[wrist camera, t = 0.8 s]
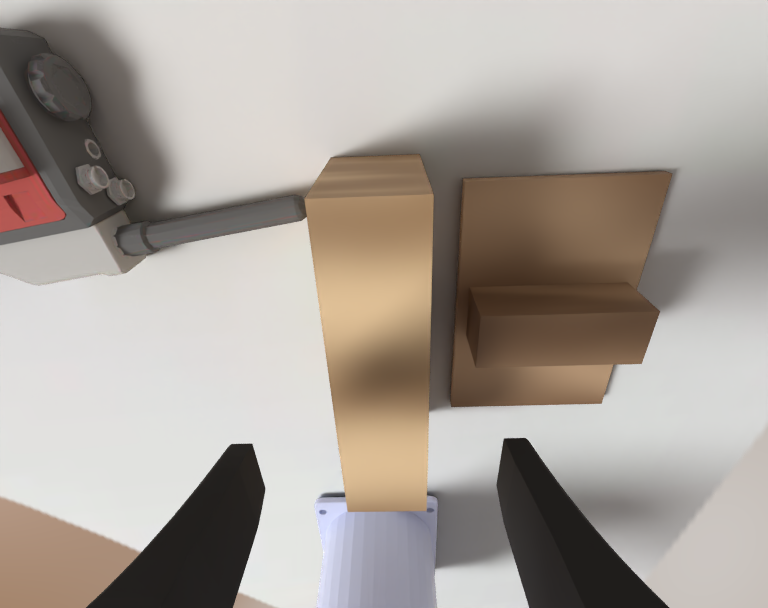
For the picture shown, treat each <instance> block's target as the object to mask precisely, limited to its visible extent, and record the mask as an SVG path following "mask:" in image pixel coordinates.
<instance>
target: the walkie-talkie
mask: <svg viewBox="0 0 768 608" xmlns="http://www.w3.org/2000/svg"><path fill="white" fill-rule="evenodd" d="M90 112H91V97H90V94H89V91H88V88H87V86H86V85H85V83H84V81H83V79H82V78H81V77H80V75H79V74H78V73H77V72H76V71H75V69H74V68H73V67H72V66H71V65H70V64H69V63H68V62H66V61H65V60H64V59H63V58H61V57H59V56H57V55H55V54H52V52H51V50H50V48H49V46H48V44H47V42H46V40H45V39H44V38H42V37H40V36H38V35H36V34H34V33H32V32H29V31H24V30H14V29H5V28H0V273H1V274H4V275H7V276H10V277H13V278H15V279H18V280H21V281H24V282H26V283H29V284H32V285H45V284H50V283H56V282H61V281H67V280H72V279H78V278H83V277H89V276H94V275H100V274H104V275H107V276H113V275H119V274H124V273H127V272H128V271H130V270H131V269H132V268H133V267H135V266H136V265H137V264H139V263H140V262H141V261H142V260H144V259H145V258H146V254H149V253H154V252H157V251H159V250H160V248H162V247H167V246H172V245H178V244H183V243H188V242H193V241H198V240H204V239H209V238H214V237H219V236H225V235H230V234H235V233H240V232H245V231H251V230H256V229H261V228H266V227H271V226H277V225H282V224H287V223H292V222H297V221H302V220H303V219H304V218H306V217H307V214H306V207H305V199H304V198H303V197H301V196H298V195H292V196H287V197H282V198H276V199H271V200H266V201H261V202H256V203H251V204H246V205H241V206H236V207H231V208H225V209H220V210H215V211H210V212H205V213H200V214H195V215H190V216H185V217H180V218H174V219H169V220H164V221H159V222H154V223H151V222H150V221H142V222H137V223H132V224H131V223H130V221H129V219H128V217H127V215H126V213H125V212H124V210H123V208H124V207H125V205H126V203H127V202H128V200H131V199H133V198H134V197H135V191H134V187H133V185H132V184H131V183H130V182H129V181H128V180H127V179H121V180H118V178H117V177H116V176H115V174H114V173H113V171H112V169H111V167H110V165H109V163H108V161H107V159H106V157H105V155H104V153H103V151H102V149H101V147H100V145H99V143H98V141H97V139H96V138H95V136H94V134H93V132H92V130H91V128H90V126H89V124H88V122H87V120H86V118H88V117H89V113H90Z"/></svg>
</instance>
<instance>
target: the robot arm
mask: <svg viewBox="0 0 768 608" xmlns="http://www.w3.org/2000/svg"><path fill="white" fill-rule="evenodd" d="M497 490H498V495H499V501H500V506H501V511H502V516H503V521H504V525H505V528H506V532H507V535H508V539H509V542H510V545H511V549H512V552H513V555H514V559H515V562H516V565H517V568H518V572H519V575H520V578H521V582H522V585H523V588H524V591H525V595H526V598H527V601H528V605H529V608H669V607H668V606H667V605H666V604H665V603H664V602H663V601H662V600H661V599H660V598H659V597H658V596H657V595H656V594H655V593H654V592H653V591H652V590H651V589H650V588H649V587H648V586H647V585H646V584H645V583H644V582H643V581H642V580H641V579H640V578H639V577H638V576H637V575H636V574H635V573H634V572H633V571H632V570H631V568H630V567H629V566H628V565H627V564H626V563H625V562H624V561H623V560H622V559H621V558H620V557H619V556H618V554H617V553H616V552H615V551H614V550H613V549H612V548H611V547H610V546H609V544H608V543H607V542H606V541H605V540H604V539H603V537H602V536H601V535H600V534H599V533H598V532H597V531H596V529H595V528H594V527H593V526H592V525H591V523H590V522H589V521H588V520H587V519H586V517H585V516H584V515H583V514H582V512H581V511H580V510H579V509H578V507H577V506H576V505H575V504H574V502H573V501H572V500H571V499H570V497H569V496H568V495H567V494H566V492H565V491H564V490H563V488H562V487H561V486H560V484H559V483H558V482H557V480H556V479H555V478H554V476H553V475H552V473H551V472H550V471H549V469H548V468H547V467H546V465H545V464H544V462H543V461H542V459H541V458H540V457H539V455H538V454H537V452H536V451H535V449H534V448H533V446H532V445H531V443H530V442H529V441H528V440H527V439H526V438H506V439H504V441H503V447H502V454H501V460H500V466H499V473H498V479H497ZM264 494H265V486H264V482H263V479H262V475H261V472H260V469H259V465H258V462H257V458H256V455H255V452H254V448H253V445H252V444H231V445H230V446H229V447H228V448H227V449H226V451H225V452H224V453H223V455H222V456H221V457H220V459H219V460H218V461H217V462H216V464H215V465H214V466H213V468H212V469H211V470H210V472H209V473H208V474H207V475H206V477H205V478H204V479H203V481H202V482H201V483H200V484H199V486H198V487H197V488H196V489H195V491H194V492H193V493H192V494H191V496H190V497H189V498H188V499H187V500H186V502H185V503H184V504H183V505H182V506H181V508H180V509H179V510H178V511H177V513H176V514H175V515H174V516H173V517H172V518H171V520H170V521H169V522H168V523H167V524H166V525H165V526H164V528H163V529H162V530H161V531H160V532H159V533H158V534H157V535H156V537H155V538H154V539H153V540H152V541H151V542H150V543H149V545H148V546H147V547H146V548H145V549H144V550H143V551H142V552H141V553H140V554H139V556H138V557H137V558H136V559H135V560H134V561H133V562H132V563H131V564H130V565H129V566H128V567H127V568H126V569H125V570H124V571H123V572H122V573H121V574H120V575H119V576H118V577H117V578H116V579H115V580H114V581H113V582H112V583H111V584H110V585H109V586H108V587H107V588H106V589H105V590H104V591H103V592H102V593H101V594H100V595H99V596H98V597H97V598H96V599H95V600H94V601H93V602H91V603H90V604H89V605H88V606H87V607H86V608H233V605H234V602H235V599H236V595H237V593H238V590H239V586H240V583H241V580H242V577H243V574H244V570H245V567H246V564H247V561H248V558H249V555H250V551H251V548H252V545H253V542H254V538H255V535H256V532H257V528H258V525H259V520H260V515H261V510H262V505H263V499H264ZM314 507H315V512H316V517H317V522H318V527H319V532H320V537H321V542H322V547H323V552H324V554H323V561H322V569H321V576H320V584H319V592H318V599H317V607H316V608H437V599H436V588H435V577H434V576H435V559H436V537H437V514H438V501H437V498H436V497H434V496H427V511H392V512H348V511H347V504H346V497H326V498H318V499H317V500H316V501H315V506H314Z"/></svg>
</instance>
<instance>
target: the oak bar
mask: <svg viewBox="0 0 768 608" xmlns="http://www.w3.org/2000/svg"><path fill="white" fill-rule="evenodd" d="M433 204H434V194H433V191H432V188H431V185H430V182H429V180H428V177H427V174H426V171H425V168H424V165H423V163H422V160H421V157H420V154H410V155H385V156H359V157H334V158H330V160H329V161H328V163H327V164H326V166H325V168H324V169H323V171H322V172H321V174H320V175H319V177H318V178H317V180H316V182H315V183H314V185H313V186H312V188H311V189H310V191H309V193H308V194H307V196H306V197H305V207H306V214H307V221H308V228H309V236H310V243H311V250H312V257H313V265H314V272H315V279H316V286H317V294H318V301H319V308H320V315H321V323H322V330H323V337H324V344H325V352H326V359H327V366H328V373H329V381H330V388H331V395H332V402H333V410H334V417H335V424H336V431H337V439H338V446H339V453H340V461H341V468H342V475H343V482H344V490H345V497H346V504H347V511H348V512H392V511H427V471H428V426H429V382H430V337H431V293H432V248H433Z"/></svg>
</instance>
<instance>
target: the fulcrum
mask: <svg viewBox="0 0 768 608" xmlns="http://www.w3.org/2000/svg"><path fill="white" fill-rule="evenodd" d="M671 177H672V173H669V172H666V171H652V172H625V173H599V174H572V175H546V176H519V177H493V178H466V179H463V186H462V203H461V221H460V238H459V255H458V273H457V290H456V308H455V325H454V343H453V360H452V378H451V395H450V402H451V407H473V406H516V405H560V404H601V403H602V400H603V397H604V394H605V391H606V387H607V384H608V381H609V378H610V374H611V371H612V368H613V365H615V364H642V361H643V358H644V356H645V353H646V350H647V347H648V344H649V341H650V339H651V336H652V333H653V330H654V327H655V324H656V322H657V319H658V316H659V313H660V311H659V310H658V309H657V308H656V307H655V306H653V305H652V304H651V303H650V302H649V301H648V300H647V299H646V298H644V297H643V296H642V295H641V294H640V293H639V292H638V291H637V287H638V284H639V281H640V277H641V274H642V271H643V268H644V264H645V261H646V258H647V255H648V251H649V248H650V245H651V242H652V239H653V235H654V232H655V229H656V226H657V222H658V219H659V216H660V213H661V209H662V206H663V203H664V200H665V196H666V193H667V190H668V187H669V184H670V180H671Z"/></svg>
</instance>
